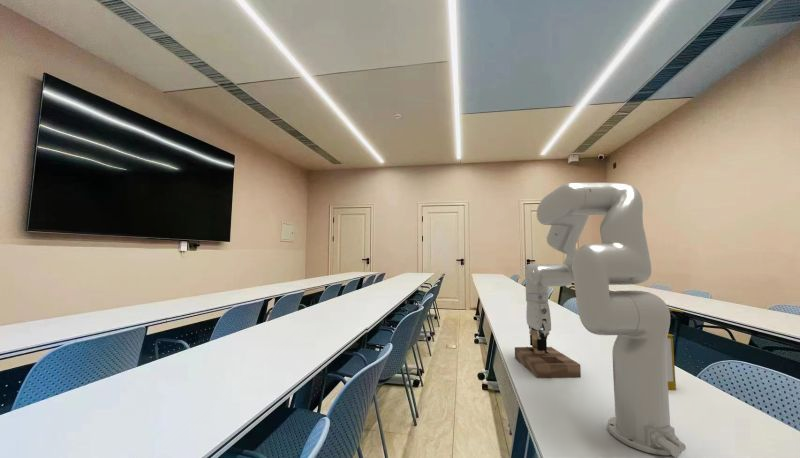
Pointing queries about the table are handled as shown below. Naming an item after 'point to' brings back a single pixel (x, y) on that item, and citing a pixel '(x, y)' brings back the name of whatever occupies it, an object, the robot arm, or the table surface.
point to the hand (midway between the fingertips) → (538, 347)
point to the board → (547, 363)
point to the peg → (535, 341)
